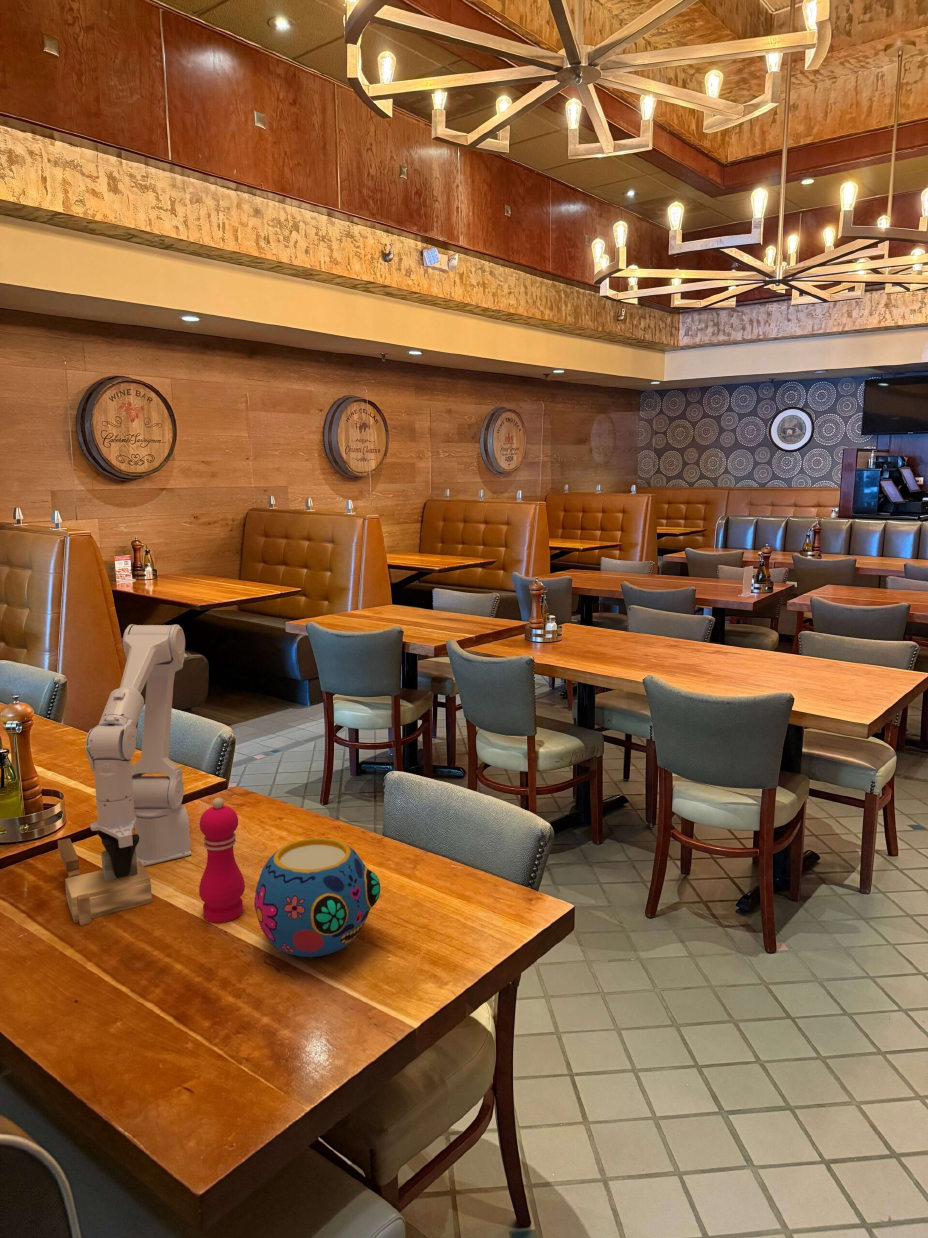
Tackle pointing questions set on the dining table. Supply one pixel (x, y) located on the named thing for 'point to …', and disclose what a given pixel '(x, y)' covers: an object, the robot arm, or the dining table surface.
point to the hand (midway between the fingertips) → (120, 871)
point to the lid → (106, 879)
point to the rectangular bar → (68, 855)
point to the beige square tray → (106, 902)
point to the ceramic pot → (314, 897)
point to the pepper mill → (220, 865)
